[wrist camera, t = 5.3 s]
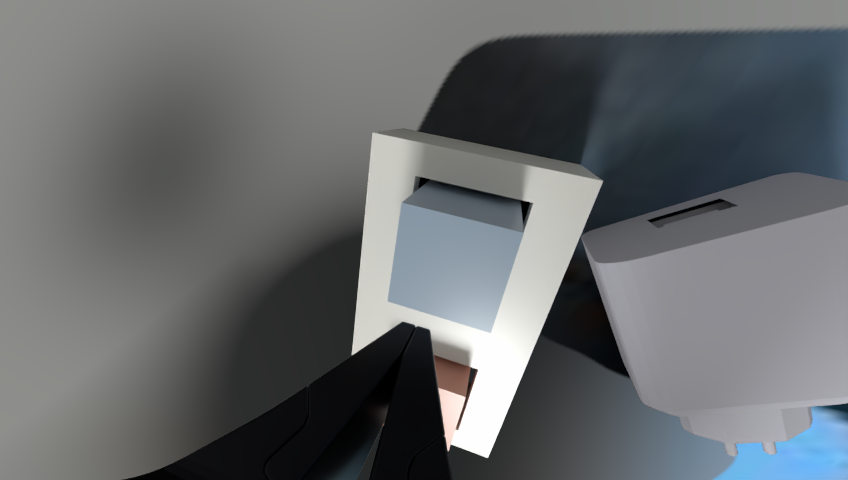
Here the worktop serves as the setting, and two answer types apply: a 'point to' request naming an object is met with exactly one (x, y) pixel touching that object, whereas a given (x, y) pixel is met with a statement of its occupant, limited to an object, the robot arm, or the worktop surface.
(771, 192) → the charger
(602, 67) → the worktop surface
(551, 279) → the key console
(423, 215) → the slate key
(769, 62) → the worktop surface
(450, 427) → the brick key
